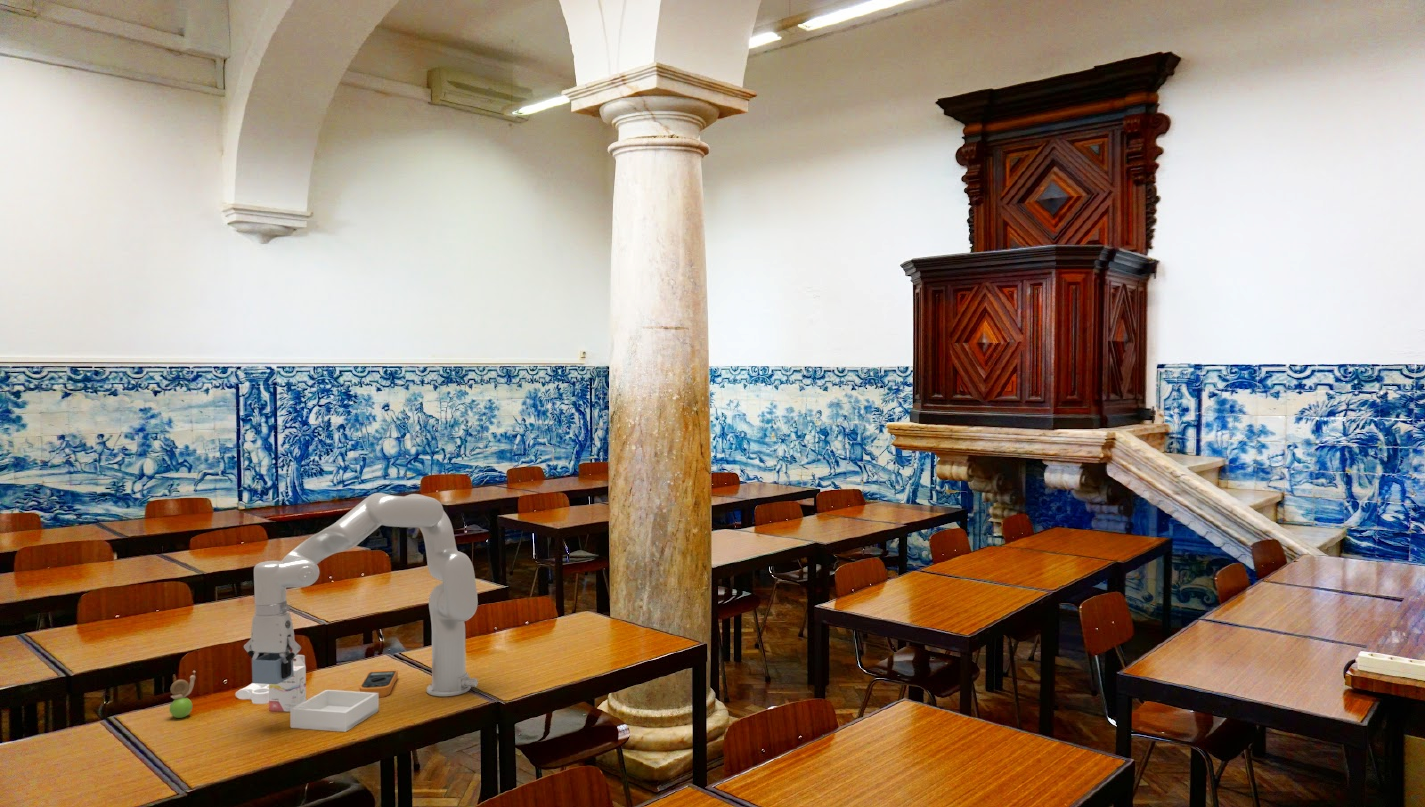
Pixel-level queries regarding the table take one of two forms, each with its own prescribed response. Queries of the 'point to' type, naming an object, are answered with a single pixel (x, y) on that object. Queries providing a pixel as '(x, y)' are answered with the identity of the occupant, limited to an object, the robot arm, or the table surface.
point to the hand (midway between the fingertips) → (273, 675)
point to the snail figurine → (181, 697)
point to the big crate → (334, 710)
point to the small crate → (268, 669)
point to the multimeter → (379, 682)
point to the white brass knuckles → (255, 693)
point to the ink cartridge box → (289, 688)
